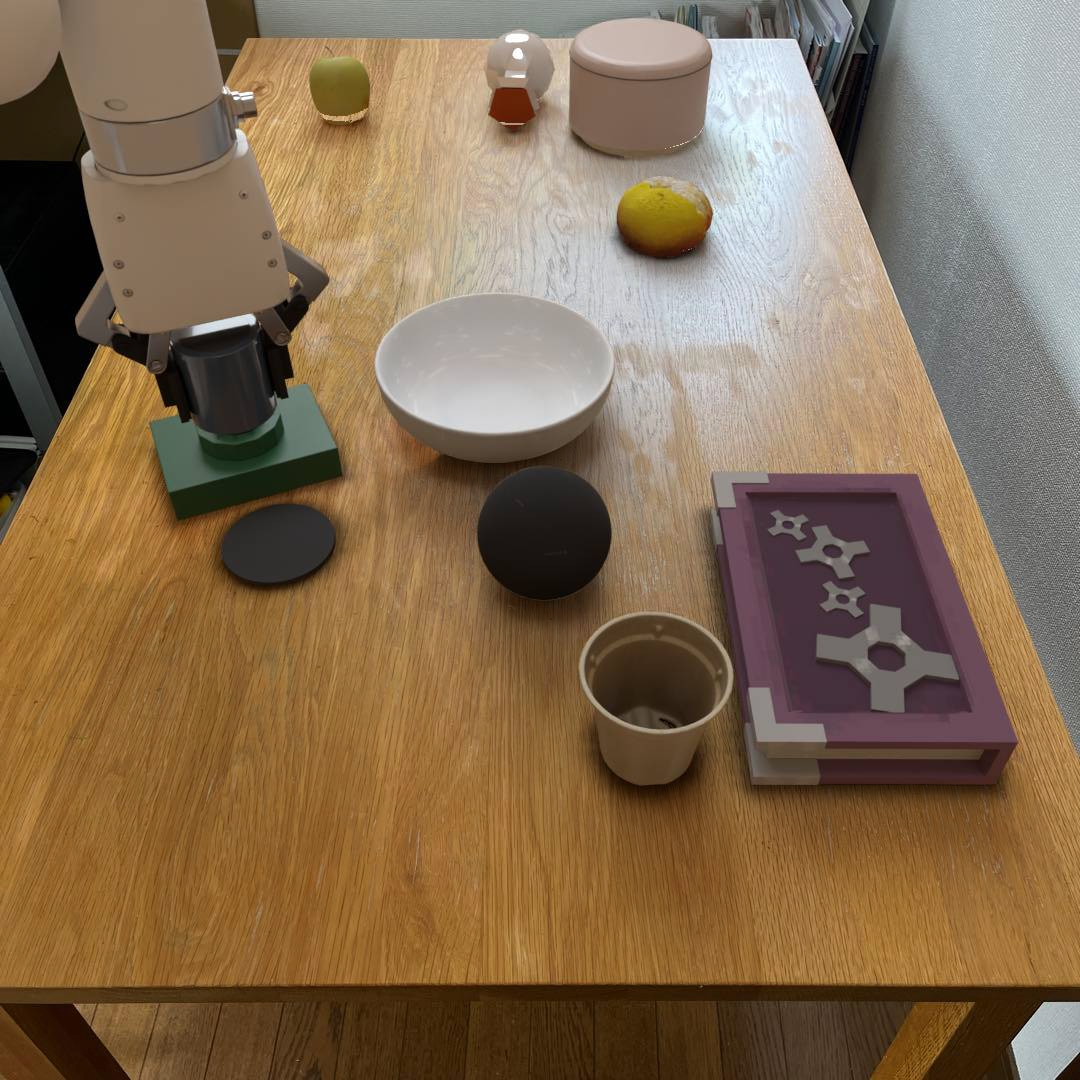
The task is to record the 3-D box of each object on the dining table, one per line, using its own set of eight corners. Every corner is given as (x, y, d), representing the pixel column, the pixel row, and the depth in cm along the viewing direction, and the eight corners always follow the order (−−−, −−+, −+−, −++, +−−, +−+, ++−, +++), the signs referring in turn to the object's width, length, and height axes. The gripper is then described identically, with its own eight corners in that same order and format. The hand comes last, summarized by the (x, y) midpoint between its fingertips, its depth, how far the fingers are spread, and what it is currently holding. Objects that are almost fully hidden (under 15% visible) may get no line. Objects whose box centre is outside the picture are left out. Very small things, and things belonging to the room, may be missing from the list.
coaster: (234, 599, 79) (233, 596, 79) (212, 524, 85) (210, 521, 85) (349, 565, 82) (348, 562, 82) (319, 495, 88) (318, 491, 88)
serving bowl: (432, 524, 85) (425, 460, 80) (352, 385, 99) (342, 323, 94) (653, 453, 91) (659, 390, 87) (550, 332, 105) (550, 271, 100)
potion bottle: (532, 96, 150) (523, 153, 141) (475, 56, 146) (462, 112, 137) (570, 45, 144) (563, 102, 135) (512, 2, 140) (500, 57, 131)
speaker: (547, 649, 76) (548, 554, 69) (453, 581, 81) (444, 485, 74) (635, 576, 81) (643, 480, 74) (541, 516, 86) (540, 420, 79)
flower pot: (702, 827, 66) (718, 750, 60) (559, 789, 68) (560, 710, 62) (727, 710, 72) (744, 629, 66) (596, 679, 74) (600, 597, 68)
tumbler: (199, 443, 67) (175, 365, 62) (184, 394, 70) (161, 317, 66) (285, 422, 68) (268, 344, 64) (267, 375, 72) (249, 299, 68)
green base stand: (177, 521, 86) (162, 475, 82) (158, 449, 92) (142, 404, 89) (343, 476, 89) (334, 430, 86) (313, 410, 96) (304, 365, 92)
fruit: (734, 243, 117) (726, 183, 110) (655, 288, 116) (642, 230, 109) (681, 198, 124) (671, 140, 117) (606, 241, 123) (592, 184, 116)
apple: (360, 128, 137) (331, 49, 131) (315, 136, 141) (284, 59, 135) (392, 106, 142) (365, 29, 136) (347, 114, 146) (319, 40, 140)
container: (554, 154, 134) (555, 60, 125) (582, 99, 146) (585, 10, 138) (694, 168, 131) (704, 72, 122) (711, 110, 143) (721, 20, 135)
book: (705, 517, 86) (712, 471, 82) (901, 517, 86) (917, 471, 82) (746, 785, 68) (757, 741, 64) (994, 786, 68) (1019, 743, 64)
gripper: (301, 78, 61) (343, 340, 73) (-13, 128, 56) (90, 398, 69) (334, 129, 56) (373, 400, 69) (-7, 187, 51) (103, 466, 64)
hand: (231, 396), depth 69 cm, fingers closed on tumbler, 5 cm apart
